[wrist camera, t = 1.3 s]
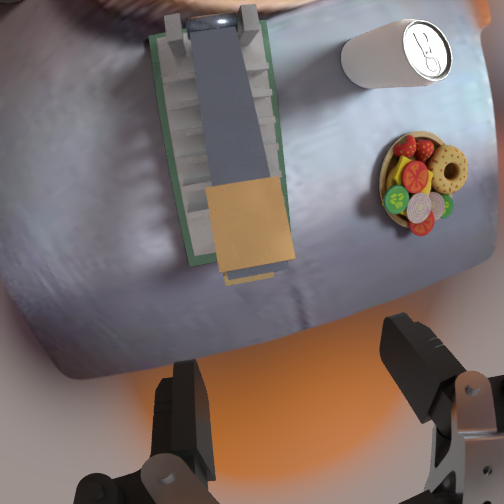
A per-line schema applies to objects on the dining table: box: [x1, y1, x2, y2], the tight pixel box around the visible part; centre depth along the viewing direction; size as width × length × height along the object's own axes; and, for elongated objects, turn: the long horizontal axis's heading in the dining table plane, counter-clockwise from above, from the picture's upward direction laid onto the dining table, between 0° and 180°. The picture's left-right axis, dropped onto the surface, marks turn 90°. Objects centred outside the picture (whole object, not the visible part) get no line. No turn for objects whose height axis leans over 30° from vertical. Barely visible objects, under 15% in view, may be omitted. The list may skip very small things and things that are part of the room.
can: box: [341, 19, 452, 89], centre depth 24 cm, size 6×6×12 cm
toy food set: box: [379, 131, 468, 236], centre depth 35 cm, size 13×13×3 cm
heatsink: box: [149, 4, 291, 286], centre depth 28 cm, size 26×12×9 cm, turn 8°
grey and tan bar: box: [186, 12, 296, 280], centre depth 20 cm, size 21×4×2 cm, turn 7°
